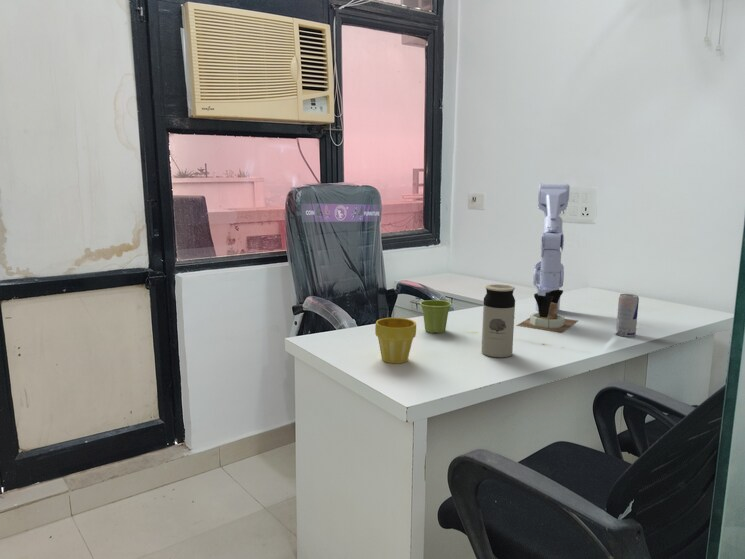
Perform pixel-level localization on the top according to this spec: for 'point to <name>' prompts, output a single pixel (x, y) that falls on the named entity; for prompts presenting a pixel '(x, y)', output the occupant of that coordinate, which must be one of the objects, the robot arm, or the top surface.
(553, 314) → the brown wooden block
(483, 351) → the travel mug
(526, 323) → the walnut board
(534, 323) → the octagonal green bowl
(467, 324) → the top surface
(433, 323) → the plant pot
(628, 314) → the energy drink
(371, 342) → the top surface
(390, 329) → the plant pot
